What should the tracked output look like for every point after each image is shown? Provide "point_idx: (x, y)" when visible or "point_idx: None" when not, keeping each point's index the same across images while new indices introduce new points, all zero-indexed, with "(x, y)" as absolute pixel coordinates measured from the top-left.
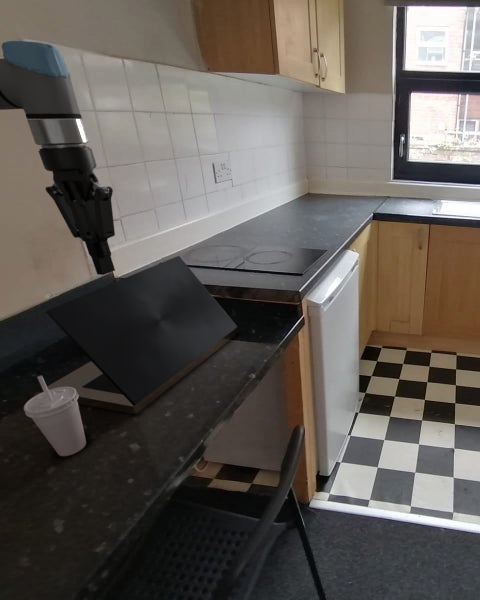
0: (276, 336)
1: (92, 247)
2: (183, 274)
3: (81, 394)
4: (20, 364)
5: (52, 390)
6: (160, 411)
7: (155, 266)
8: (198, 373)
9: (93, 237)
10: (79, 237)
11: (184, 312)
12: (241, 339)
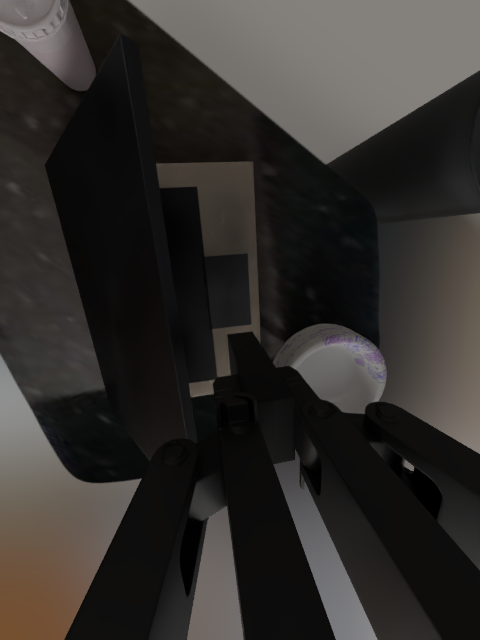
0: (52, 420)
1: (256, 386)
2: None
3: (176, 168)
4: (370, 224)
5: (48, 6)
6: (33, 189)
7: None
8: (77, 294)
9: (241, 433)
10: (363, 415)
11: (122, 375)
12: (101, 393)
